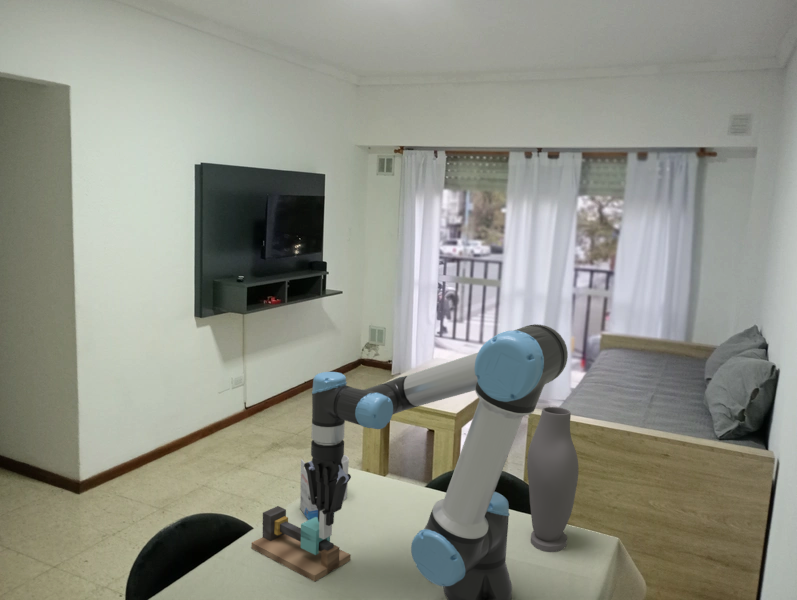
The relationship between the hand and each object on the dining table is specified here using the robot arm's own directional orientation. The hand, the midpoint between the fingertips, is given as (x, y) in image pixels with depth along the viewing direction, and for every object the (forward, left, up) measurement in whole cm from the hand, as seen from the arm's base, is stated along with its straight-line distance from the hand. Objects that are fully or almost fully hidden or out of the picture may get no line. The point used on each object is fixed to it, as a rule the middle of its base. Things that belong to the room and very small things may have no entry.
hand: (325, 536), depth 151 cm
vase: (-35, -47, -8) cm, 59 cm away
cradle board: (+8, 0, -8) cm, 11 cm away
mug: (+24, -30, -8) cm, 39 cm away
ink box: (+21, -17, -8) cm, 28 cm away
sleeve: (+3, 0, -4) cm, 5 cm away
